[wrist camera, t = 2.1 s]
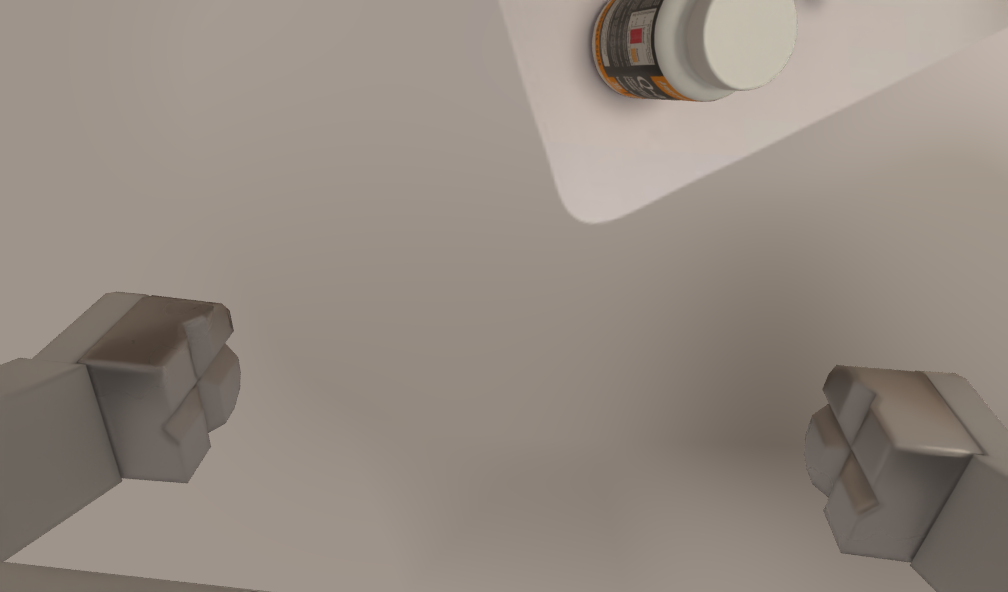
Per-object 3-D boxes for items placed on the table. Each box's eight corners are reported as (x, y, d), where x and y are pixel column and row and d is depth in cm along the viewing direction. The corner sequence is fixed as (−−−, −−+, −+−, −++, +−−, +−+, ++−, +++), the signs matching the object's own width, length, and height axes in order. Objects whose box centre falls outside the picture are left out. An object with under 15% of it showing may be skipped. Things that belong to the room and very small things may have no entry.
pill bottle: (591, 104, 38) (692, 113, 29) (584, -10, 36) (690, -38, 27) (683, 91, 39) (806, 95, 30) (680, -19, 37) (811, -49, 28)
